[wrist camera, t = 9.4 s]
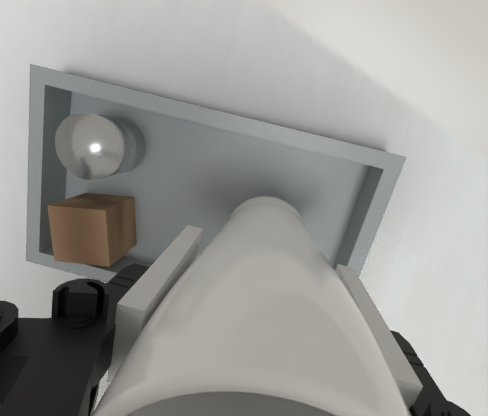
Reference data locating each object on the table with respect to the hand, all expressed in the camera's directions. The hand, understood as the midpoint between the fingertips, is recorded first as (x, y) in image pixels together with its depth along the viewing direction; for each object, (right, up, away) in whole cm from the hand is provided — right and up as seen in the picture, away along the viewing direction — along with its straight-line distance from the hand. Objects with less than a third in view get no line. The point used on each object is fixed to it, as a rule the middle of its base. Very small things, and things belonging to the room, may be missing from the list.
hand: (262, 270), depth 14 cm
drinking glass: (+1, +1, +6) cm, 6 cm away
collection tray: (-4, +3, +8) cm, 10 cm away
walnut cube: (-12, +2, +9) cm, 15 cm away
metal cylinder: (-10, +8, +7) cm, 15 cm away
